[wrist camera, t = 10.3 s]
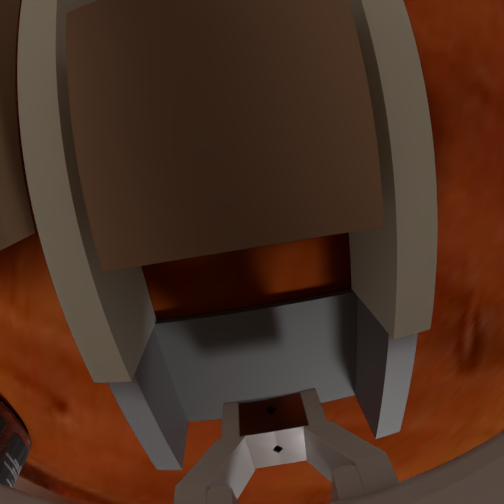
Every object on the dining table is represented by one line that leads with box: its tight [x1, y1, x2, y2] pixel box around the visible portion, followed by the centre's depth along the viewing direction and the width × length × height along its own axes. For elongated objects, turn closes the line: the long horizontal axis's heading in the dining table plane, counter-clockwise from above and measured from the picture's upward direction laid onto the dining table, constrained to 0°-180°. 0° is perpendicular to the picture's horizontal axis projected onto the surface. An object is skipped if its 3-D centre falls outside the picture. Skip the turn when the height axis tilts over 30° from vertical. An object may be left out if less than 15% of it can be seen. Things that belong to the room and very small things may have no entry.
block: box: [66, 0, 384, 272], centre depth 7 cm, size 5×5×5 cm
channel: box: [17, 0, 437, 470], centre depth 8 cm, size 9×17×4 cm, turn 9°
